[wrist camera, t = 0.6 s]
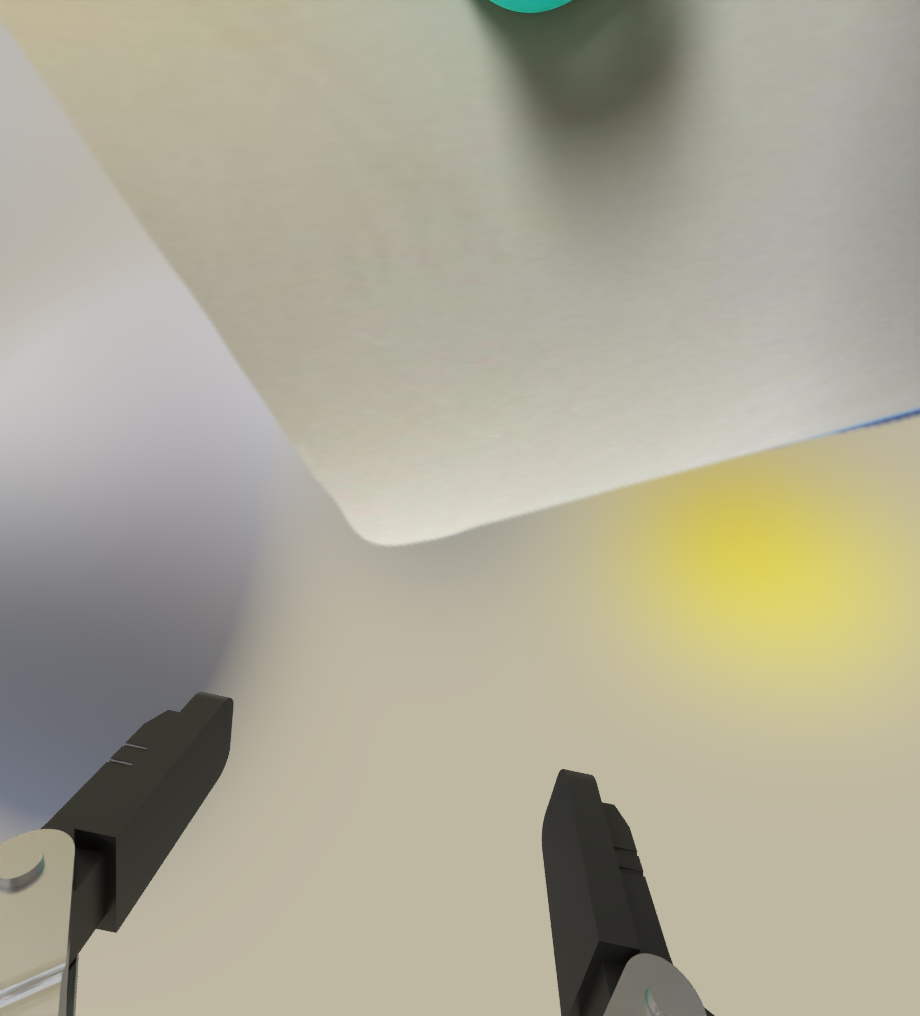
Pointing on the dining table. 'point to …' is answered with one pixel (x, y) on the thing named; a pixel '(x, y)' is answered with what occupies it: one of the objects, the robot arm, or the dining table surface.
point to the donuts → (530, 5)
